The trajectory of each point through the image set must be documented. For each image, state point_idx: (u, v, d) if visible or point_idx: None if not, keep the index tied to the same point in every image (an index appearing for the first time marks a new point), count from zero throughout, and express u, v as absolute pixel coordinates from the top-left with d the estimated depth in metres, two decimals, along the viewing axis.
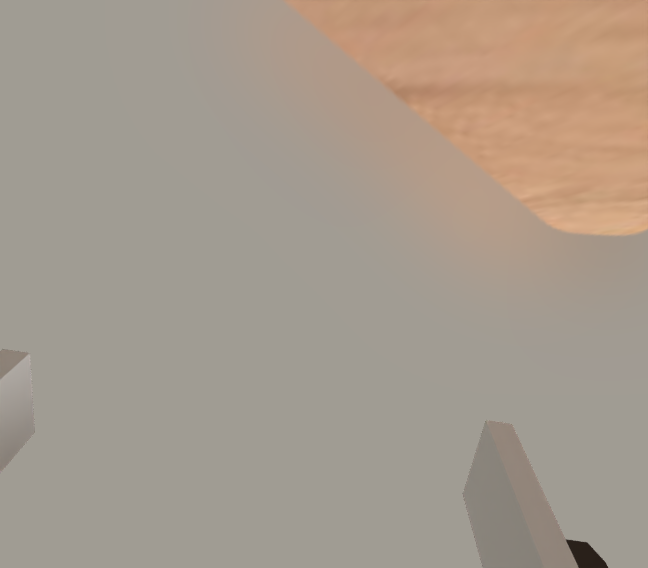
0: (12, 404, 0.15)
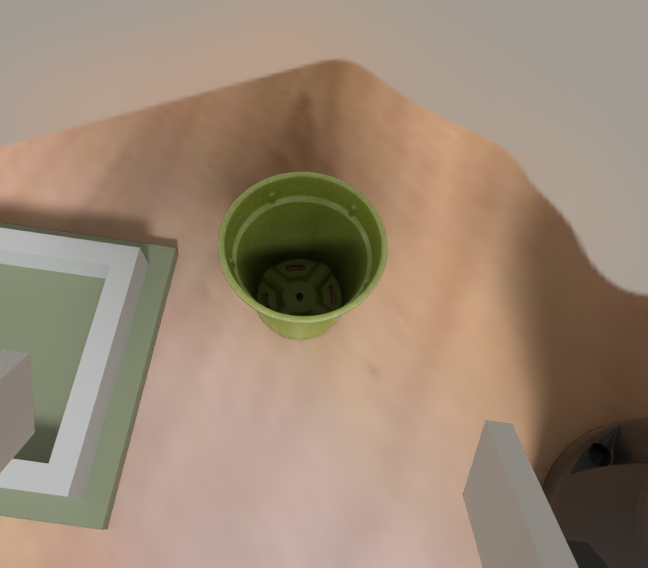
0: (12, 404, 0.15)
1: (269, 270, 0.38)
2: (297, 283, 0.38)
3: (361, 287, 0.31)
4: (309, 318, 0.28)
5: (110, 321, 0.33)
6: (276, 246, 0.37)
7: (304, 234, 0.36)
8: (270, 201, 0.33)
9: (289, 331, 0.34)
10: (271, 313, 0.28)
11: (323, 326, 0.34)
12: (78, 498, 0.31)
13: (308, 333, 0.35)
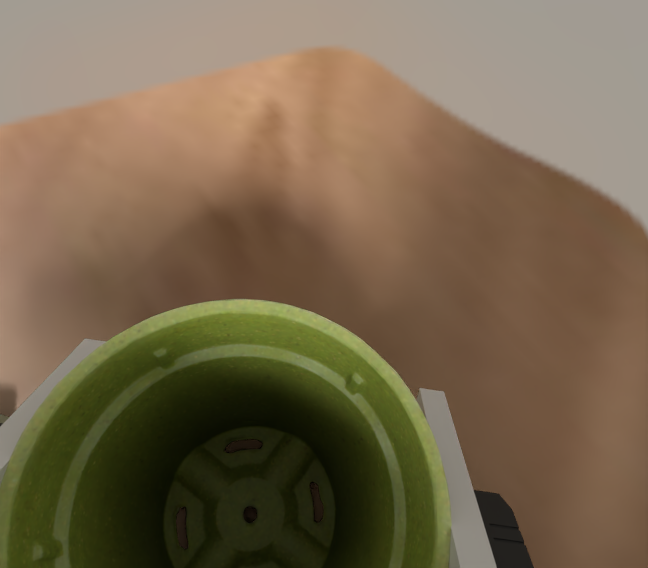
0: None
1: (189, 457, 0.19)
2: (246, 482, 0.19)
3: None
4: None
5: None
6: (199, 419, 0.18)
7: (255, 398, 0.18)
8: (161, 365, 0.14)
9: None
10: None
11: None
12: None
13: None
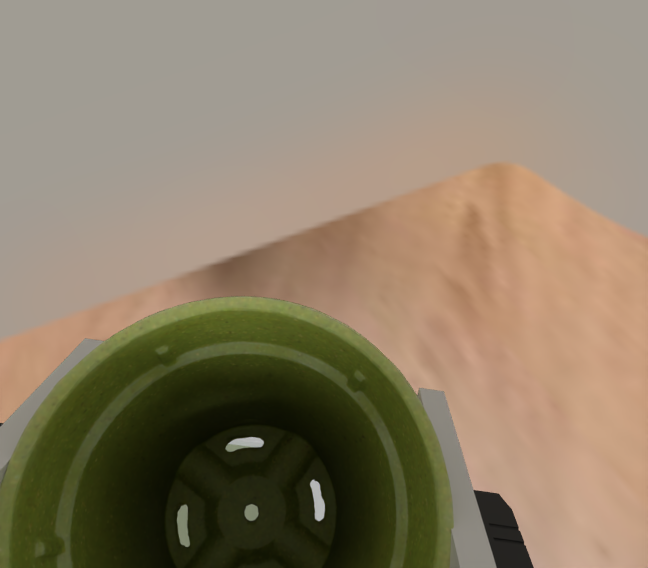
0: None
1: (191, 455, 0.19)
2: (247, 481, 0.19)
3: None
4: None
5: None
6: (200, 417, 0.18)
7: (256, 396, 0.18)
8: (163, 362, 0.14)
9: None
10: None
11: None
12: None
13: None
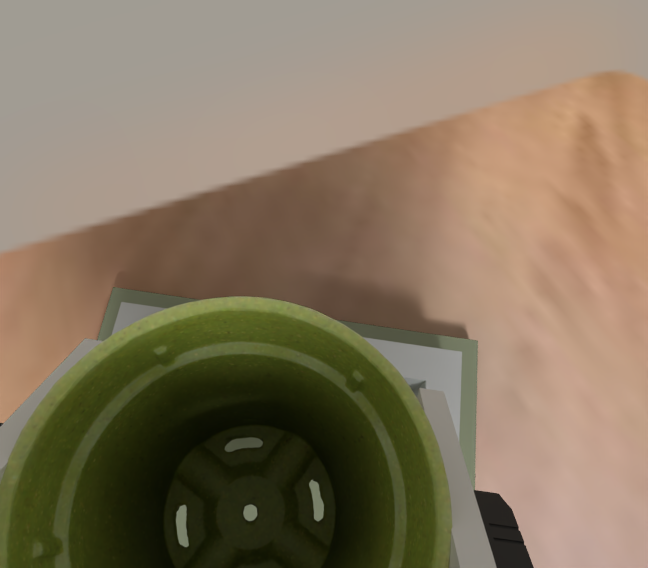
0: None
1: (189, 455, 0.19)
2: (246, 481, 0.19)
3: None
4: None
5: None
6: (199, 418, 0.18)
7: (255, 396, 0.18)
8: (161, 362, 0.14)
9: None
10: None
11: None
12: None
13: None
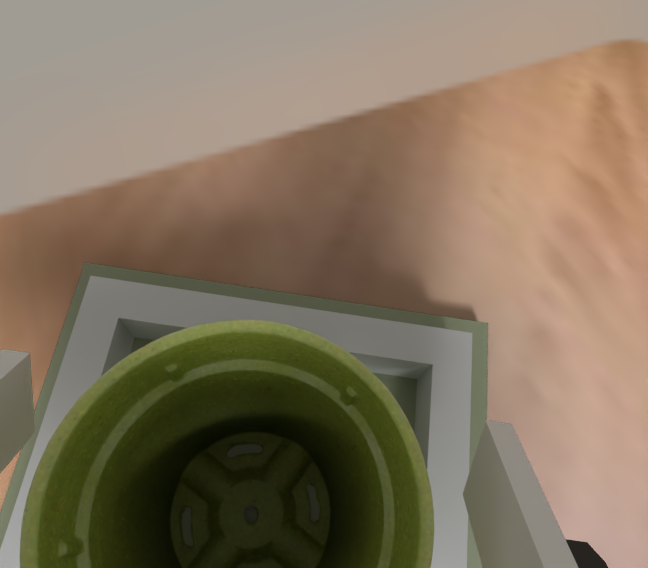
0: (12, 404, 0.15)
1: (194, 461, 0.21)
2: (247, 484, 0.20)
3: None
4: None
5: (456, 467, 0.19)
6: (204, 426, 0.19)
7: (256, 406, 0.19)
8: (171, 378, 0.15)
9: None
10: None
11: None
12: None
13: None
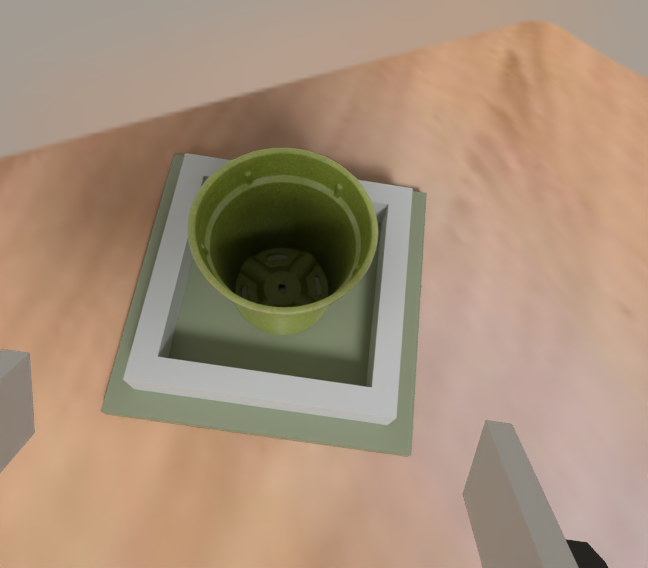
0: (12, 404, 0.15)
1: (248, 260, 0.35)
2: (279, 274, 0.35)
3: (350, 275, 0.28)
4: (292, 309, 0.25)
5: (400, 256, 0.34)
6: (255, 233, 0.34)
7: (286, 219, 0.33)
8: (247, 182, 0.30)
9: (271, 326, 0.31)
10: (249, 304, 0.25)
11: (308, 319, 0.31)
12: (383, 425, 0.32)
13: (292, 328, 0.31)
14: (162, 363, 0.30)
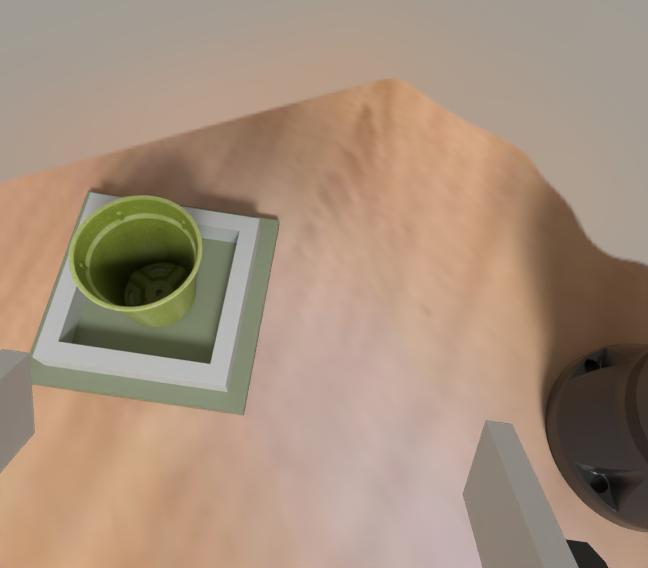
0: (12, 404, 0.15)
1: (135, 272, 0.47)
2: (158, 282, 0.47)
3: None
4: (134, 308, 0.38)
5: (243, 269, 0.46)
6: (137, 252, 0.46)
7: (159, 243, 0.46)
8: (119, 218, 0.42)
9: (141, 320, 0.43)
10: (105, 305, 0.37)
11: (166, 315, 0.43)
12: (224, 392, 0.44)
13: (157, 321, 0.44)
14: (61, 346, 0.42)
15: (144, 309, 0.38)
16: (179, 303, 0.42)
